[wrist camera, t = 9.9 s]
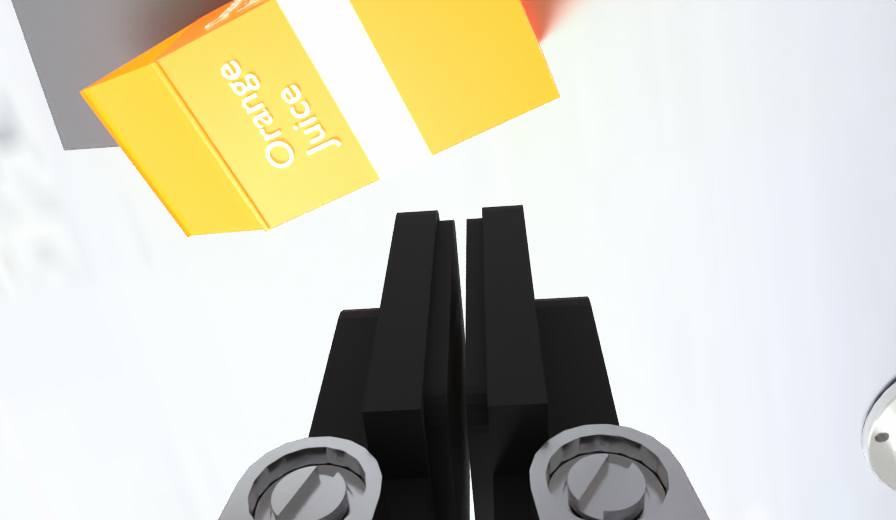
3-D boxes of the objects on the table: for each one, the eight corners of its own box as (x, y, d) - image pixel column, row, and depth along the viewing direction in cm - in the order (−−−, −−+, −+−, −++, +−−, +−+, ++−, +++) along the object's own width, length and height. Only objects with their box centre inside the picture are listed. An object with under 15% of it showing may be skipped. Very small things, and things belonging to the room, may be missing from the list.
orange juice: (471, -109, 29) (41, 119, 33) (561, 99, 33) (167, 279, 38) (465, -128, 36) (108, 64, 40) (541, 47, 40) (209, 205, 44)
